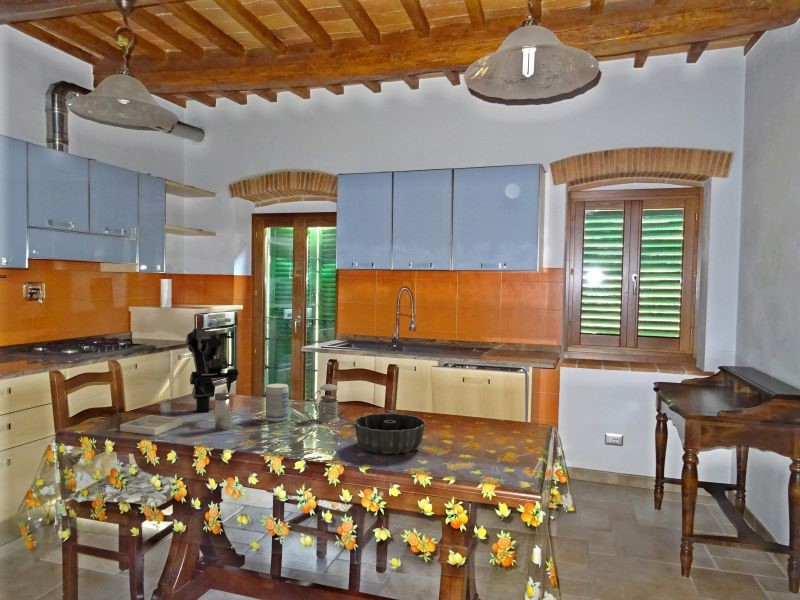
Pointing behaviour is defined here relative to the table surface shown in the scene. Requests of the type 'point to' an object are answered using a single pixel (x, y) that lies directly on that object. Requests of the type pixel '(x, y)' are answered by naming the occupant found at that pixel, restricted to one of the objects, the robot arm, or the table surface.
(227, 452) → the table surface
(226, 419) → the shaker
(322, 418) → the french press
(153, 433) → the tray
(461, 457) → the table surface
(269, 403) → the supplement tub
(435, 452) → the table surface
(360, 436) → the bundt pan
